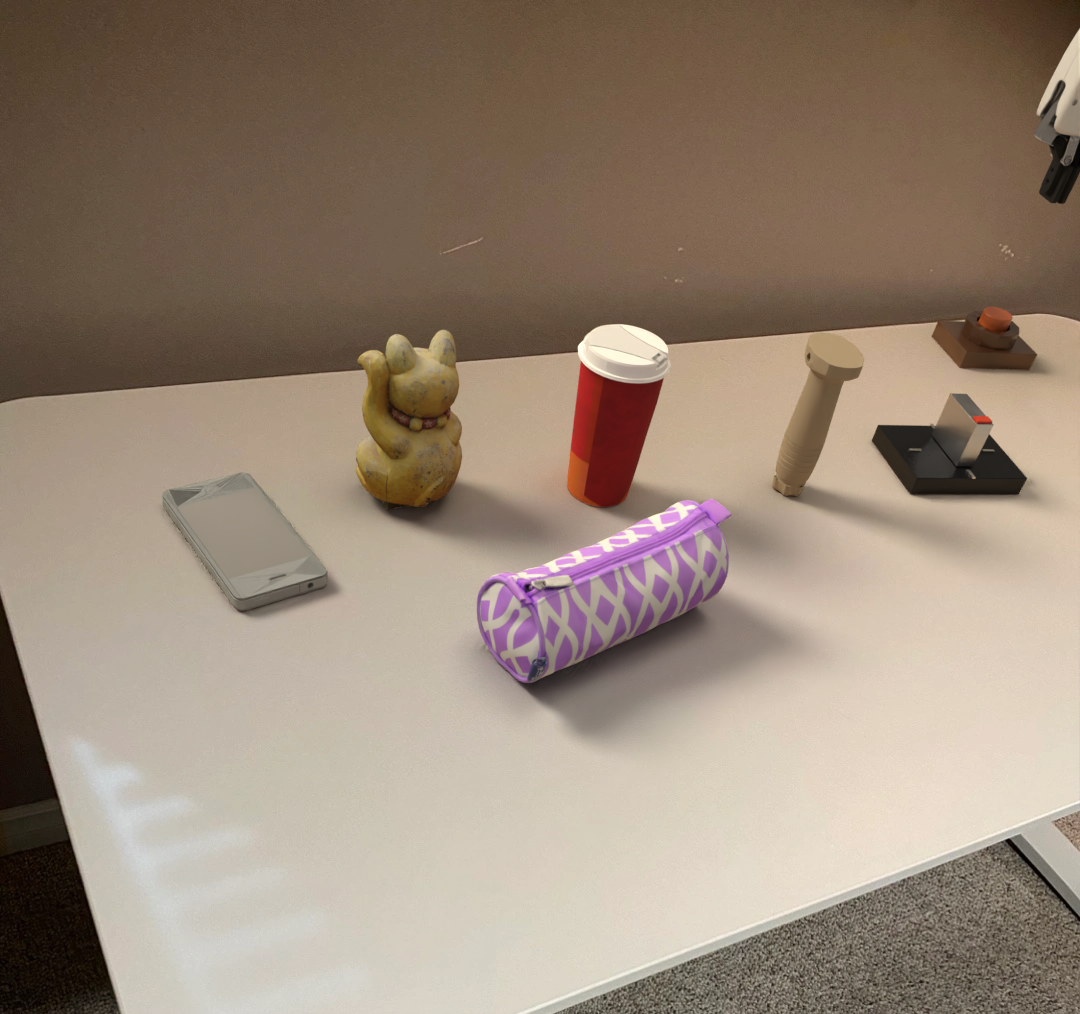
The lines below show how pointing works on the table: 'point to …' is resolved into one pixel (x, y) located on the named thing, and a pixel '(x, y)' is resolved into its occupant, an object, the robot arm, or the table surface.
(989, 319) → the button
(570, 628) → the pencil case
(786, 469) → the handle
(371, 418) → the decorative figurine
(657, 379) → the coffee cup
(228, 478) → the phone
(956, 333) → the button block
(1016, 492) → the base
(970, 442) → the tap handle
